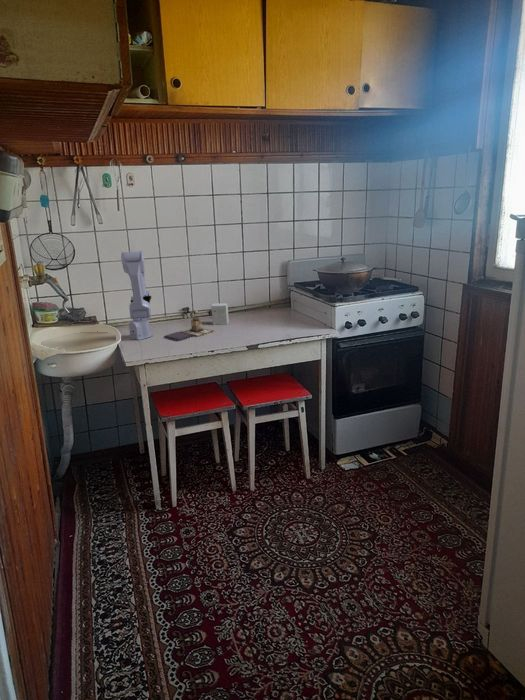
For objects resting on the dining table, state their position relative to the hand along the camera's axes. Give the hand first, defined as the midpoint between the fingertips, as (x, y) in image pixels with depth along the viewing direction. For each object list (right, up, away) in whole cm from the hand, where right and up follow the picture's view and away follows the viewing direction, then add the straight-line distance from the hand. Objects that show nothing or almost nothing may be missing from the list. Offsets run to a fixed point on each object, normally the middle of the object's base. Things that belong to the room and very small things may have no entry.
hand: (142, 311), depth 258 cm
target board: (+29, -11, -7) cm, 32 cm away
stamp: (+29, -10, -8) cm, 32 cm away
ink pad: (+21, -14, -15) cm, 30 cm away
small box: (+40, -6, +8) cm, 41 cm away
